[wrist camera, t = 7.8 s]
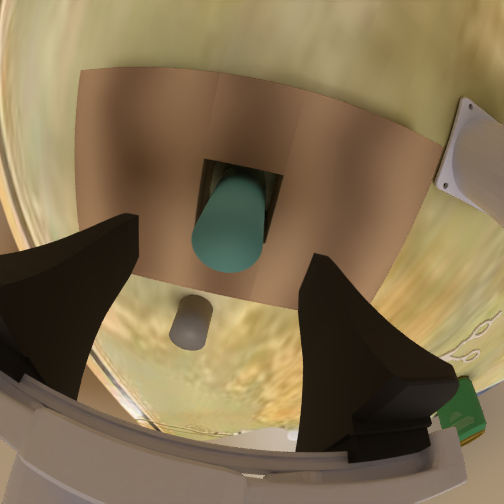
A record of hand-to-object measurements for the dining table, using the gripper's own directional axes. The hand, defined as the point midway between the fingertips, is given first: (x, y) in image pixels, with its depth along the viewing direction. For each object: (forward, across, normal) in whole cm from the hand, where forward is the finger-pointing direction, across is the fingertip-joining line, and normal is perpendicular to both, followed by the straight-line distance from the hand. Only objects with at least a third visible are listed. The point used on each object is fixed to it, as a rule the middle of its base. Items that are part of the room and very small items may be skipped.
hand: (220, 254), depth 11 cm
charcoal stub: (+9, +2, +13) cm, 16 cm away
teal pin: (+9, 0, 0) cm, 9 cm away
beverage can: (+10, -43, +25) cm, 51 cm away
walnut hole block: (+9, 0, 0) cm, 9 cm away
